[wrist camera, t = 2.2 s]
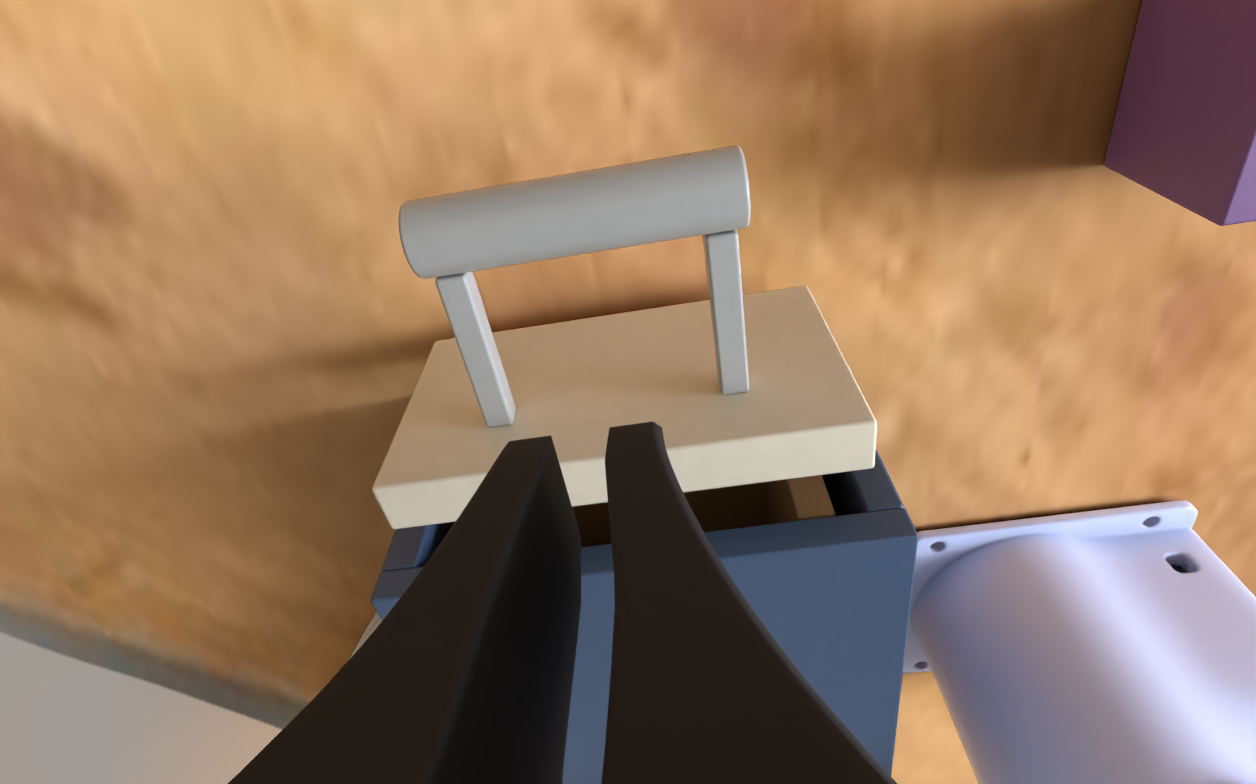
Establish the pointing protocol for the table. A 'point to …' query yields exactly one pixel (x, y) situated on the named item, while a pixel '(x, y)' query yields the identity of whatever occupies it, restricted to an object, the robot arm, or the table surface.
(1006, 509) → the table surface
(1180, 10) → the block
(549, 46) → the table surface
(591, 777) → the cabinet
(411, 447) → the drawer
